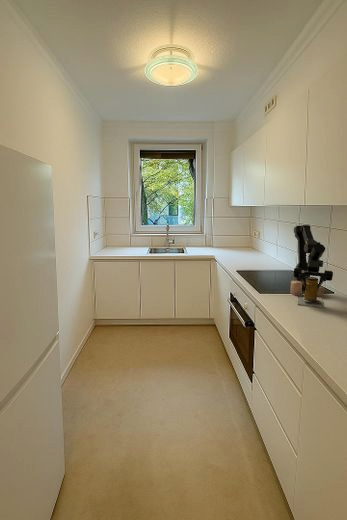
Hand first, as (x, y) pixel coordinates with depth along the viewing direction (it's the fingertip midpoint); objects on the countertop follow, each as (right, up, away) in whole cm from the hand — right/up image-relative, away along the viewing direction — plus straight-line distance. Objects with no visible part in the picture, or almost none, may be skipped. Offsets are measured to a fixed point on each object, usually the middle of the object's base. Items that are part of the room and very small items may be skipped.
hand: (311, 287), depth 159 cm
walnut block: (+11, -6, +17) cm, 21 cm away
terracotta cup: (-1, -5, +19) cm, 20 cm away
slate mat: (0, -8, +3) cm, 9 cm away
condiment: (+1, -7, +2) cm, 7 cm away
